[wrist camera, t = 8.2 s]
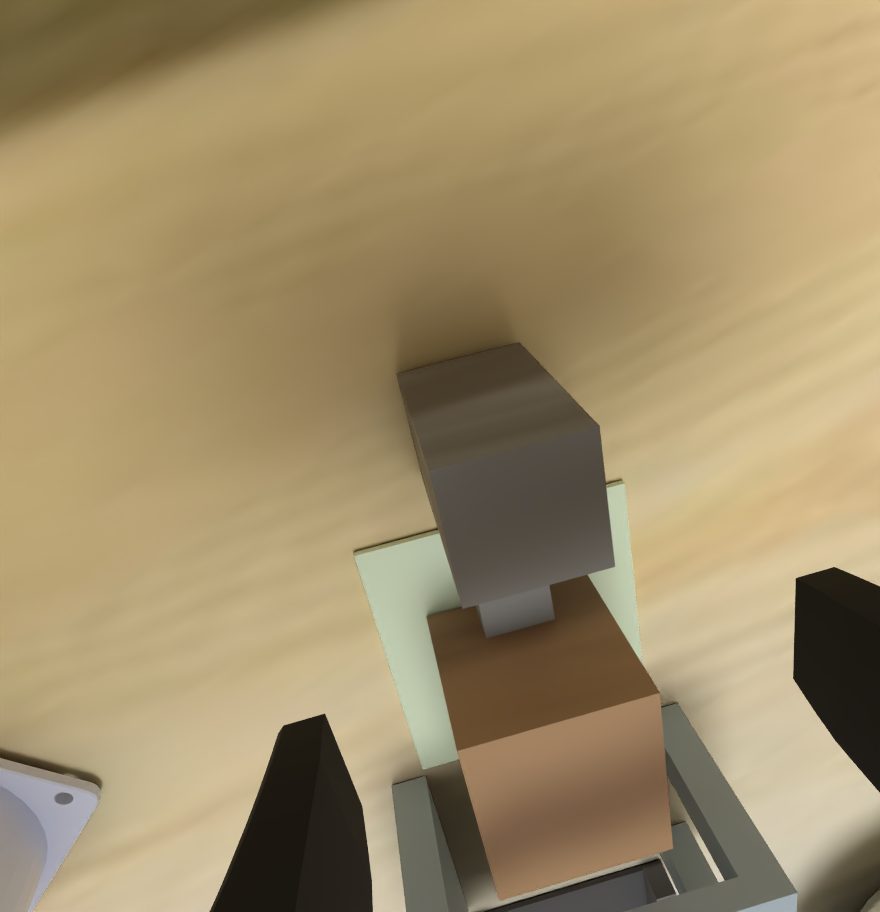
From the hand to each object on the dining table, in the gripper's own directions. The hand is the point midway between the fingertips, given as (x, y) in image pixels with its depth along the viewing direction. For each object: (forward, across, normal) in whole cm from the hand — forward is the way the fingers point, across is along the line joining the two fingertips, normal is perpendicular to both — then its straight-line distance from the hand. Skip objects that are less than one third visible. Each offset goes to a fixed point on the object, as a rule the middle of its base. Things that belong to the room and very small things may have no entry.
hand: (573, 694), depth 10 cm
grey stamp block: (+9, 0, +4) cm, 10 cm away
